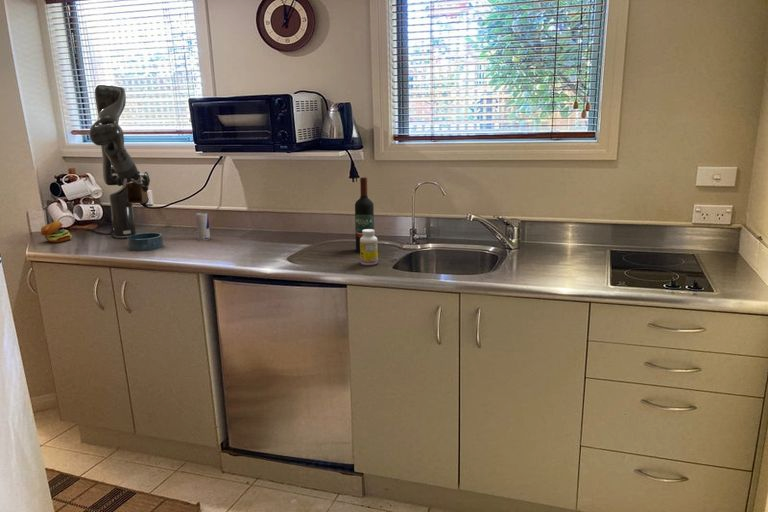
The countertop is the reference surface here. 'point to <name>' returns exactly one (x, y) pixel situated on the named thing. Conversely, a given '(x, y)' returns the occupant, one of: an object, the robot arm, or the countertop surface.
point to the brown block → (136, 193)
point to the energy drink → (202, 226)
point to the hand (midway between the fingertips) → (138, 190)
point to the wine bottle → (363, 213)
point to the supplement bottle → (368, 248)
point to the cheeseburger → (55, 232)
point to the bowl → (145, 241)
